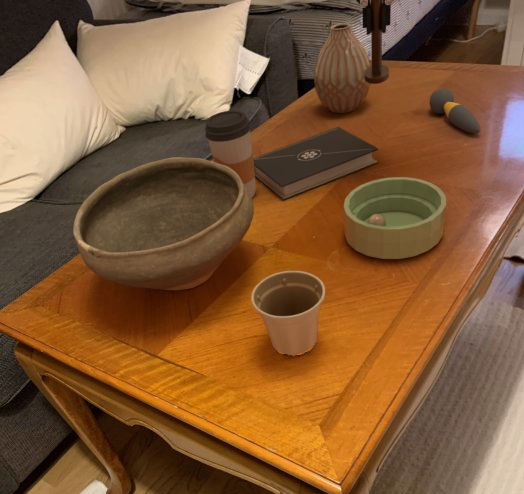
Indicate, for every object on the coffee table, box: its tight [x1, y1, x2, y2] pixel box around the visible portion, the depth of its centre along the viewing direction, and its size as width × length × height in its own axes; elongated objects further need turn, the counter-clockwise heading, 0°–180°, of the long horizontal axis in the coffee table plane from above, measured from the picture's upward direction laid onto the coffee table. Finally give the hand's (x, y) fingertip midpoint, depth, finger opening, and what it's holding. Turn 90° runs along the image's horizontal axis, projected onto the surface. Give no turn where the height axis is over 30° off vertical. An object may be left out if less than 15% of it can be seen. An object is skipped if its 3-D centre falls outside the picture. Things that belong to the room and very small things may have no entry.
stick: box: [364, 0, 390, 85], centre depth 89 cm, size 4×4×14 cm
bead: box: [368, 214, 386, 226], centre depth 85 cm, size 3×3×3 cm
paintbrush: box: [429, 88, 481, 135], centre depth 110 cm, size 20×5×5 cm, turn 20°
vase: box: [313, 22, 372, 114], centre depth 119 cm, size 13×13×18 cm
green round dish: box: [343, 176, 447, 260], centre depth 84 cm, size 16×16×6 cm
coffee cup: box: [204, 109, 257, 198], centre depth 98 cm, size 8×8×15 cm
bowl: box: [72, 156, 255, 291], centre depth 82 cm, size 28×28×14 cm
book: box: [253, 126, 379, 201], centre depth 105 cm, size 22×15×3 cm
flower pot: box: [250, 270, 326, 356], centre depth 69 cm, size 9×9×9 cm
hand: (376, 30), depth 88 cm, fingers closed on stick
